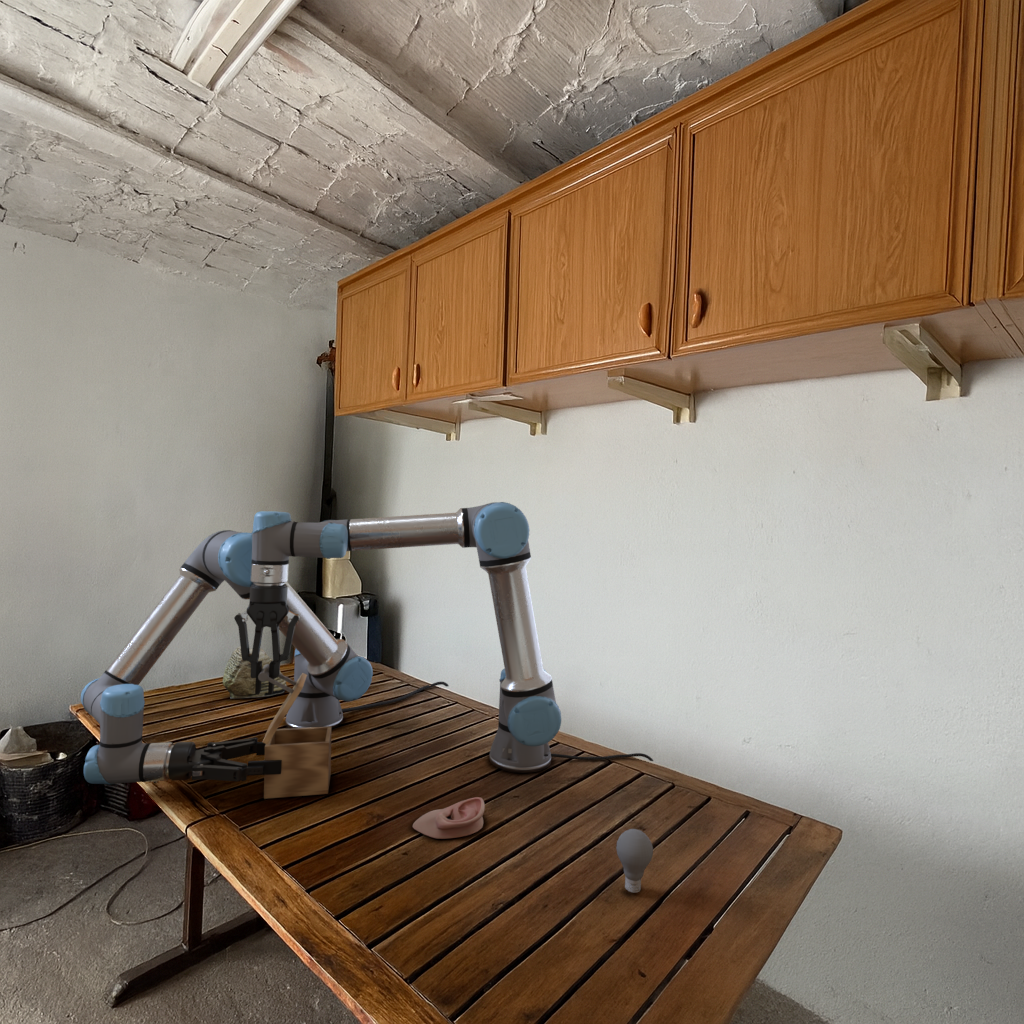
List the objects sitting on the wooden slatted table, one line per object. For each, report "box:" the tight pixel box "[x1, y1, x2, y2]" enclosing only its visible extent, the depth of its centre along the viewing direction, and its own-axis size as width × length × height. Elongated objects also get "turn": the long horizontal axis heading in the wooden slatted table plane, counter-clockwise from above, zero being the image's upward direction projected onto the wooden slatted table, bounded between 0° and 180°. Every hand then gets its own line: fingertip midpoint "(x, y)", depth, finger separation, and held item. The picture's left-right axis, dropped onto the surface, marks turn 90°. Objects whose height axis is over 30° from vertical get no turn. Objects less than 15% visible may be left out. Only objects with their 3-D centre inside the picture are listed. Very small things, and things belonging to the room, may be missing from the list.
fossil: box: [222, 646, 288, 699], centre depth 198 cm, size 9×18×15 cm, turn 132°
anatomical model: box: [412, 796, 486, 840], centre depth 124 cm, size 13×4×12 cm
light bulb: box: [615, 828, 654, 894], centre depth 106 cm, size 6×6×10 cm
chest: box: [263, 726, 332, 800], centre depth 138 cm, size 13×10×11 cm
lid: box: [258, 664, 307, 744], centre depth 136 cm, size 14×10×9 cm
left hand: (284, 756), depth 137 cm, fingers closed on chest, 10 cm apart
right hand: (264, 692), depth 136 cm, fingers closed on lid, 2 cm apart
